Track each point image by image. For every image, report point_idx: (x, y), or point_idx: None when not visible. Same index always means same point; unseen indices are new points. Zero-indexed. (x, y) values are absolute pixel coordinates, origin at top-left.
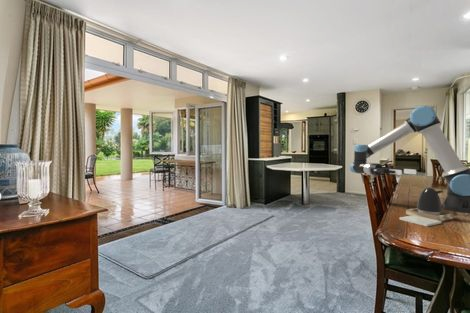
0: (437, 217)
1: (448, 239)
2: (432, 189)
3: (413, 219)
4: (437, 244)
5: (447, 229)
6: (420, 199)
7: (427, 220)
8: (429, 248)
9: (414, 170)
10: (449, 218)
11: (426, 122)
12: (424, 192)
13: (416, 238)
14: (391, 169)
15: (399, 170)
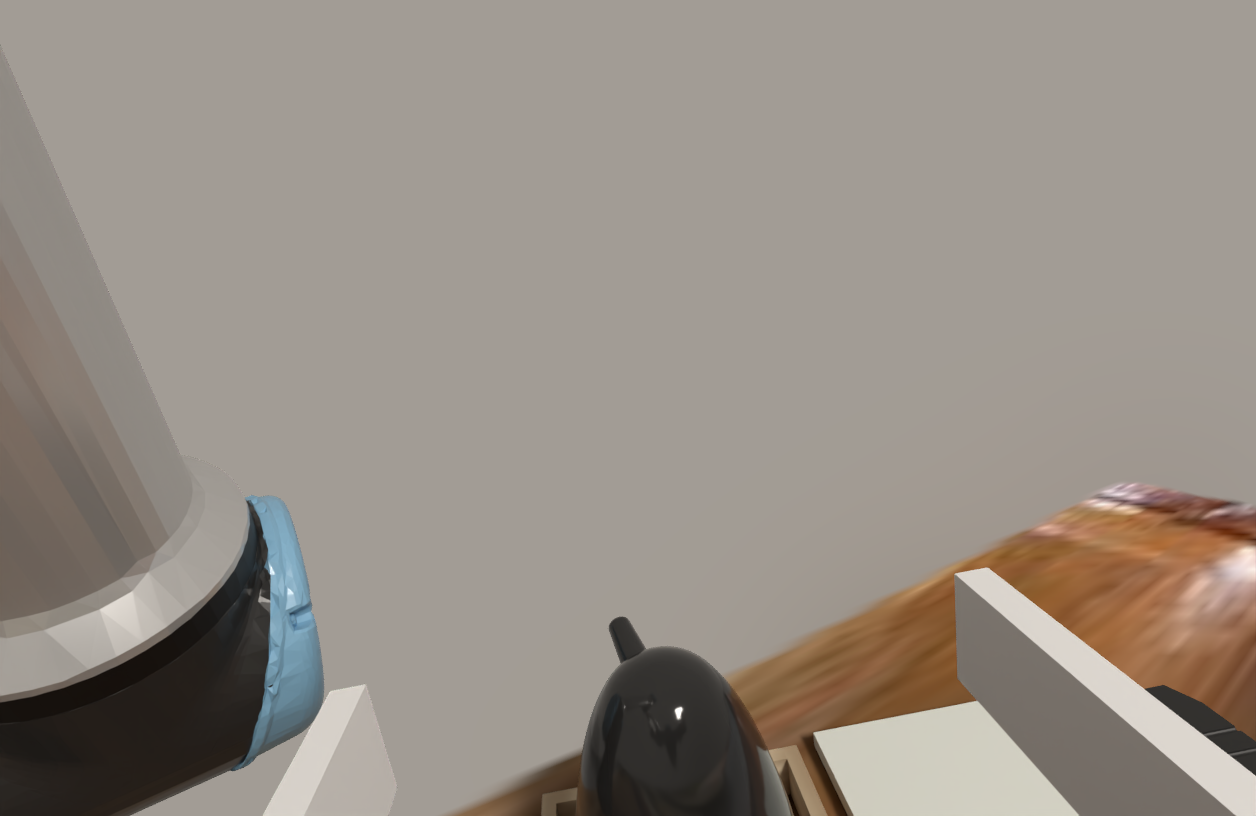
0: (798, 753)
1: (1030, 575)
2: (673, 647)
3: (1040, 801)
4: (1136, 547)
5: (897, 659)
6: (780, 813)
7: (917, 761)
8: (1205, 527)
9: (362, 728)
10: None
11: None
12: (740, 714)
13: (1218, 587)
14: (1228, 758)
15: (1016, 603)
